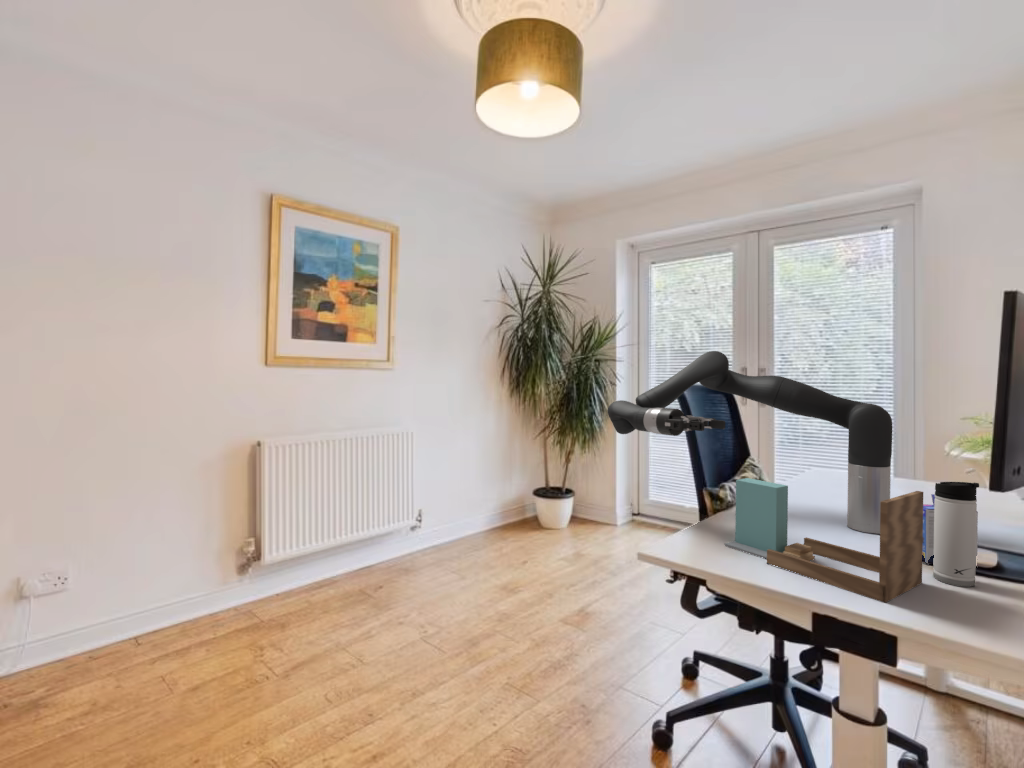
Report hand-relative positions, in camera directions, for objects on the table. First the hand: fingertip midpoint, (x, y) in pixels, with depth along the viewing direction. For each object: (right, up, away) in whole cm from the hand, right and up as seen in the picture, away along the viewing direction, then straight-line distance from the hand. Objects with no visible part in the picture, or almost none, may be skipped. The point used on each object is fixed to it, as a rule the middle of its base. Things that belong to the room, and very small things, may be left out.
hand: (714, 425), depth 128 cm
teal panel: (+7, -27, -10) cm, 30 cm away
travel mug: (+36, -29, -29) cm, 54 cm away
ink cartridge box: (+43, -28, -19) cm, 55 cm away
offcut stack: (+12, -28, -17) cm, 35 cm away
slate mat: (+7, -28, -10) cm, 31 cm away
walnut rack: (+16, -28, -25) cm, 41 cm away
